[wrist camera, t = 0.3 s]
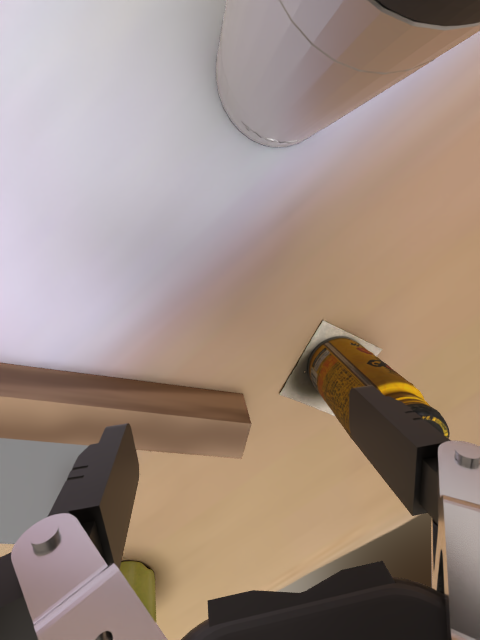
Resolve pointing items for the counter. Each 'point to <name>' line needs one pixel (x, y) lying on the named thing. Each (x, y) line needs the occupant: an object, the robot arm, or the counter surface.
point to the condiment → (350, 377)
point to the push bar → (120, 412)
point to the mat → (31, 482)
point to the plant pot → (141, 583)
